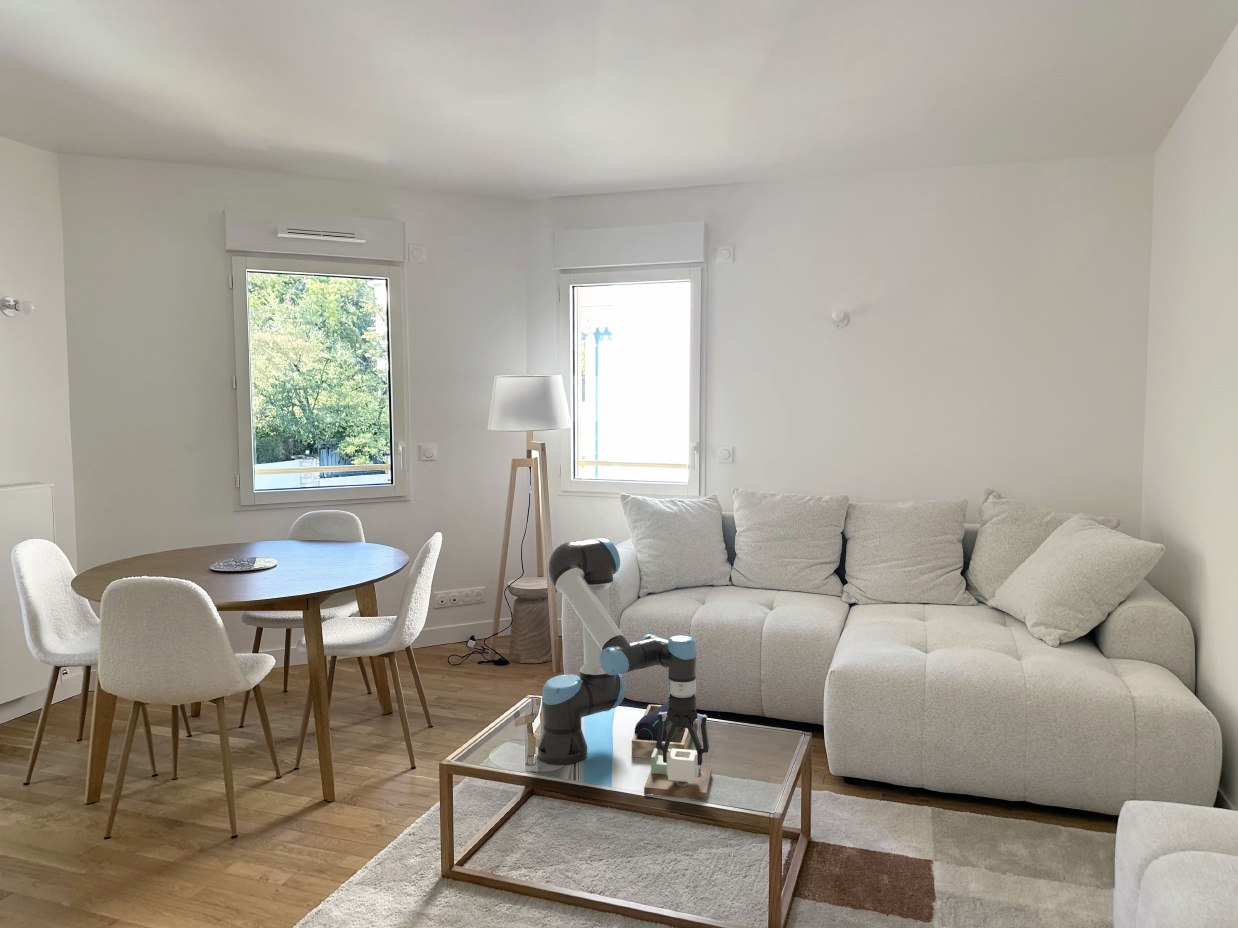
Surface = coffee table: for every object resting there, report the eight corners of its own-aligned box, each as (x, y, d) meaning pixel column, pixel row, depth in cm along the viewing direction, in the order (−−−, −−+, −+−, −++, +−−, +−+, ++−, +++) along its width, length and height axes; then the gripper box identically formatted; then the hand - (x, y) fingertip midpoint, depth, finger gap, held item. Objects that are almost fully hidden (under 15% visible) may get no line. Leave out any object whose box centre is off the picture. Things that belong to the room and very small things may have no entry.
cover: (651, 773, 239) (651, 756, 238) (654, 764, 245) (654, 748, 244) (679, 775, 237) (679, 758, 237) (681, 766, 243) (681, 750, 243)
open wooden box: (631, 756, 255) (631, 740, 255) (648, 718, 286) (648, 704, 285) (684, 760, 252) (684, 744, 252) (695, 721, 282) (695, 707, 282)
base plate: (644, 794, 231) (644, 765, 230) (653, 770, 245) (653, 743, 245) (706, 799, 227) (706, 770, 227) (711, 775, 242) (711, 748, 241)
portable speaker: (658, 754, 256) (658, 722, 255) (631, 747, 261) (630, 716, 260) (697, 727, 276) (697, 697, 276) (671, 721, 282) (671, 692, 281)
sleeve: (672, 769, 236) (672, 748, 236) (696, 771, 235) (696, 750, 234) (668, 779, 230) (667, 758, 229) (693, 782, 228) (693, 760, 228)
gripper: (644, 695, 229) (644, 777, 231) (717, 700, 225) (717, 783, 226) (648, 686, 236) (649, 766, 238) (719, 690, 232) (720, 771, 234)
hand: (682, 774), depth 232 cm, fingers closed on sleeve, 7 cm apart
